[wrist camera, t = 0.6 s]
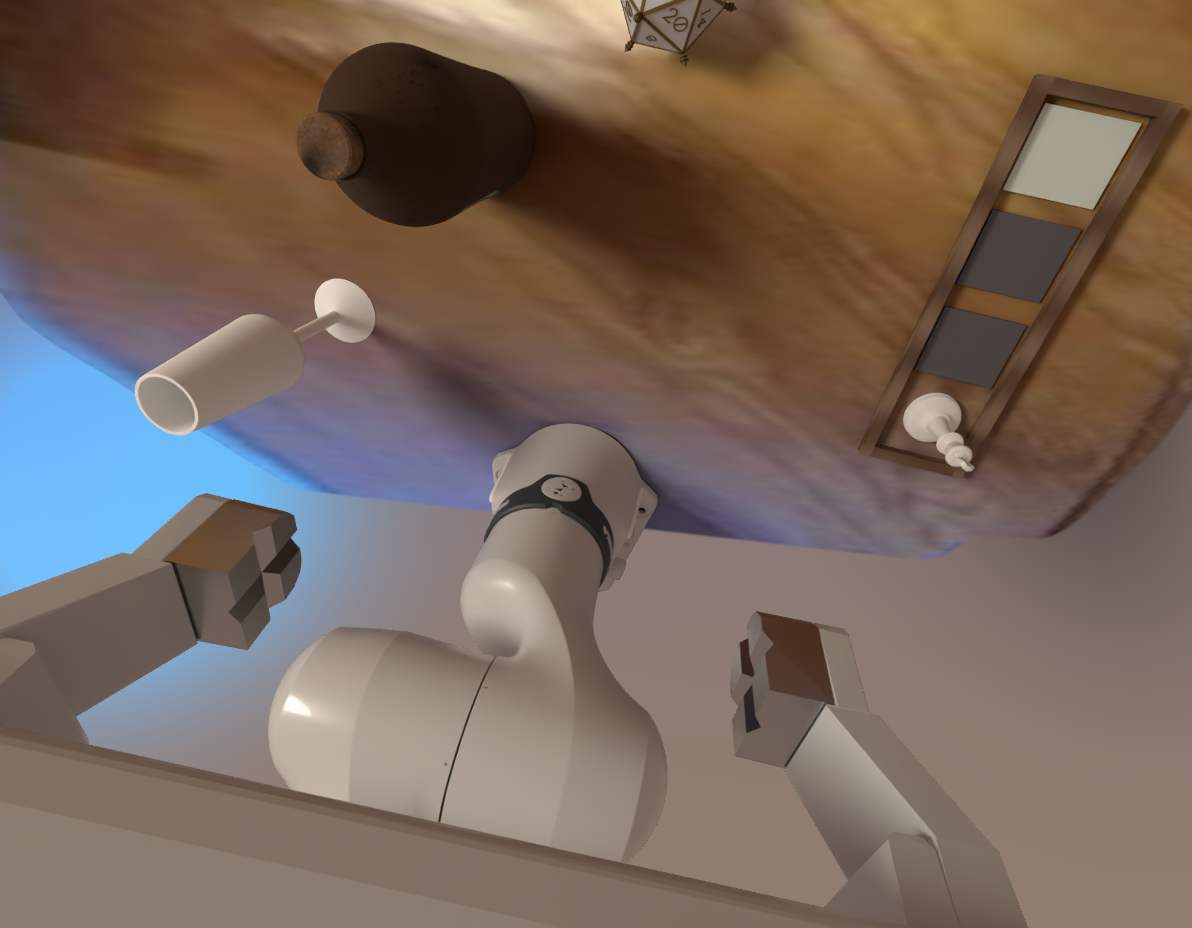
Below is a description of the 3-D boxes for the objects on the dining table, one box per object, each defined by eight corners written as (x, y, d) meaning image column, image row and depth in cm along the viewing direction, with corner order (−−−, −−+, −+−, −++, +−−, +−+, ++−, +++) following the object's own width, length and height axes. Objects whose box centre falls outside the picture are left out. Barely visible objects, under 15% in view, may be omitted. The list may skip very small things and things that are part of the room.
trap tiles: (990, 387, 56) (990, 388, 56) (913, 369, 57) (914, 370, 57) (1080, 229, 49) (1081, 229, 49) (992, 209, 50) (993, 209, 49)
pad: (1091, 209, 48) (1092, 209, 48) (1001, 189, 49) (1002, 189, 49) (1140, 123, 45) (1141, 123, 45) (1044, 102, 46) (1045, 102, 46)
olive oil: (419, 56, 51) (204, 16, 30) (543, 65, 50) (411, 28, 29) (428, 194, 57) (251, 244, 35) (541, 205, 55) (427, 263, 34)
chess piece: (930, 382, 57) (967, 430, 49) (972, 410, 58) (1016, 462, 49) (891, 422, 60) (920, 474, 51) (932, 448, 60) (967, 504, 52)
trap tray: (958, 473, 61) (961, 478, 60) (857, 448, 61) (859, 453, 61) (1174, 104, 44) (1183, 104, 44) (1035, 75, 45) (1041, 74, 44)
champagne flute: (375, 286, 62) (203, 371, 41) (376, 349, 65) (218, 456, 45) (312, 272, 62) (111, 349, 42) (316, 335, 66) (132, 435, 45)
